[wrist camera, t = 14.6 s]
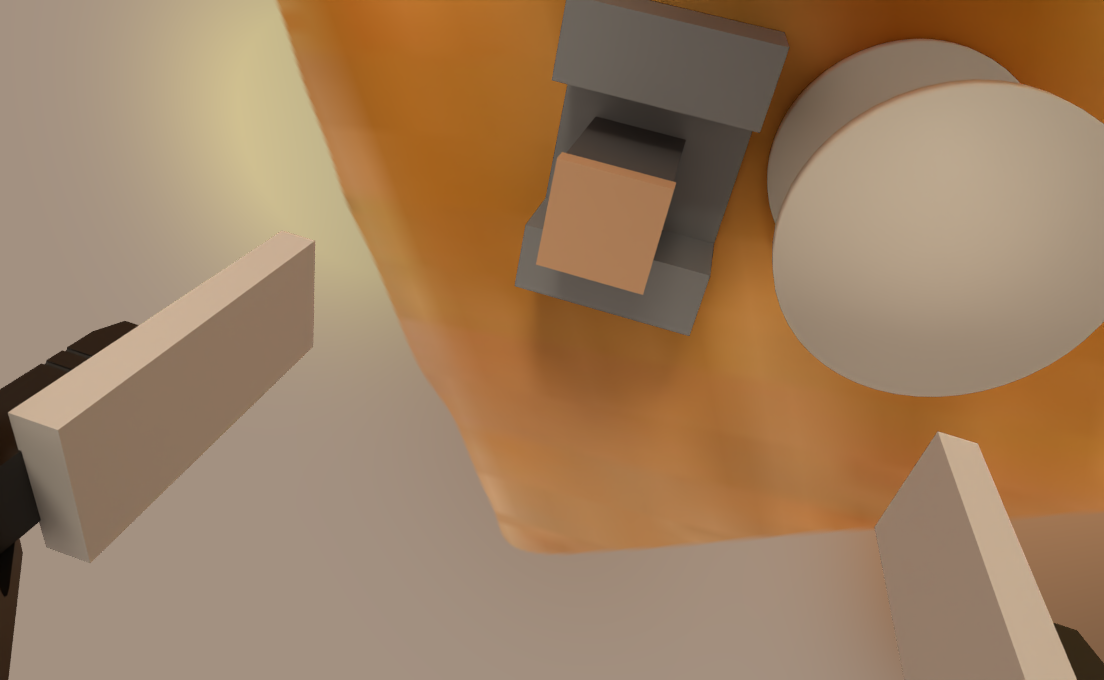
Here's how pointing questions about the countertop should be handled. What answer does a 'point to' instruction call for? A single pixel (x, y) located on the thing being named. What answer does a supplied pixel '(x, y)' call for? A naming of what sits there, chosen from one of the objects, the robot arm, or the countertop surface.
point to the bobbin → (936, 220)
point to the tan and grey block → (610, 204)
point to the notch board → (669, 108)
